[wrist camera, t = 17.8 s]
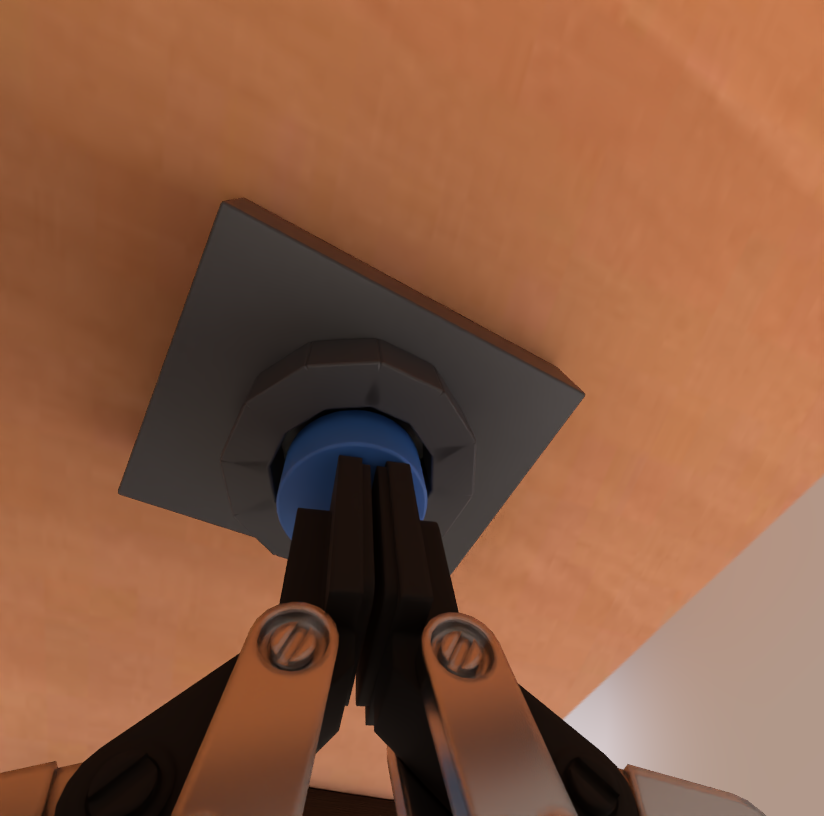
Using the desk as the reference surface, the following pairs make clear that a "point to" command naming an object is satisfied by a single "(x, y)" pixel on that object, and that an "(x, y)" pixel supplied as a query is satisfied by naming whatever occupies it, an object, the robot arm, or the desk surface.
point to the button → (318, 457)
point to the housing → (331, 384)
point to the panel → (345, 805)
